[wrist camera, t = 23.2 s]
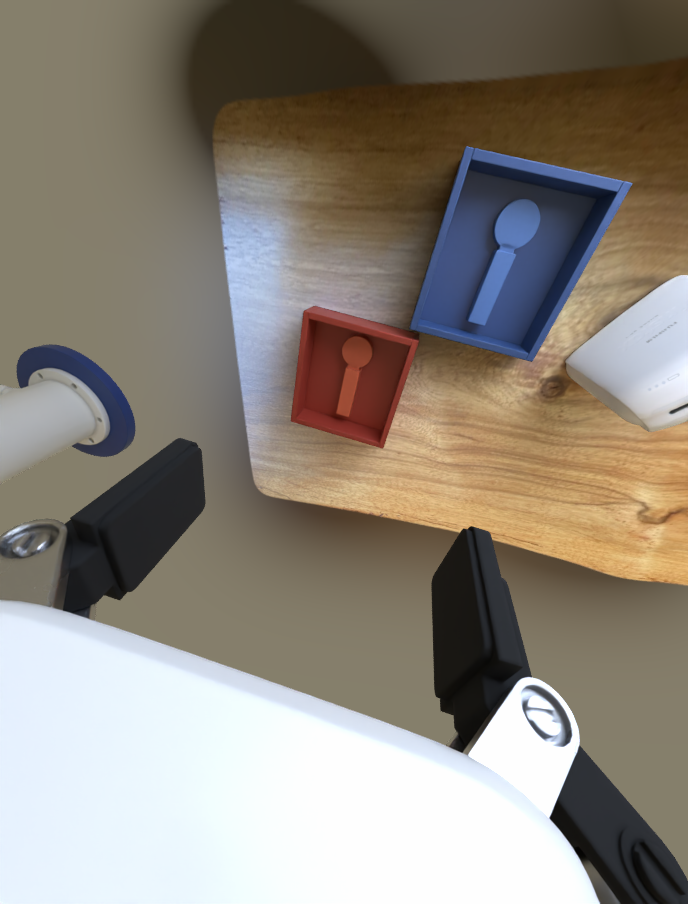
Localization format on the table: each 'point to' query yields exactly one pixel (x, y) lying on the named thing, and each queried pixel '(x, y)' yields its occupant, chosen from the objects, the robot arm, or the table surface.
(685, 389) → the photo printer
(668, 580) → the table surface
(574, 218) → the blue bin
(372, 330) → the red bin
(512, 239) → the blue spoon
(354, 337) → the red spoon
